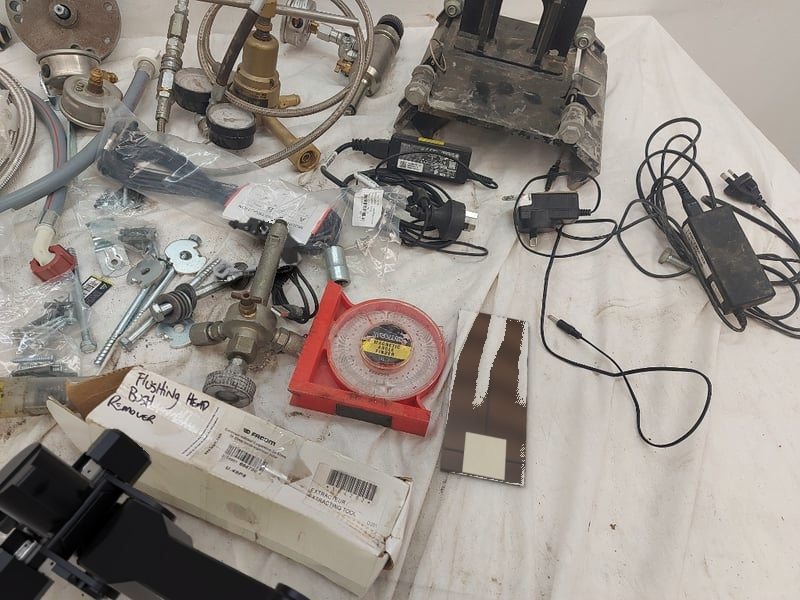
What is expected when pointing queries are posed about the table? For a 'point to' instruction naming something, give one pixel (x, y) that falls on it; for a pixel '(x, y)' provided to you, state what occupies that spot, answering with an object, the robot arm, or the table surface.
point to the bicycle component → (253, 227)
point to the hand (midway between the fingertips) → (47, 503)
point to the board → (487, 410)
